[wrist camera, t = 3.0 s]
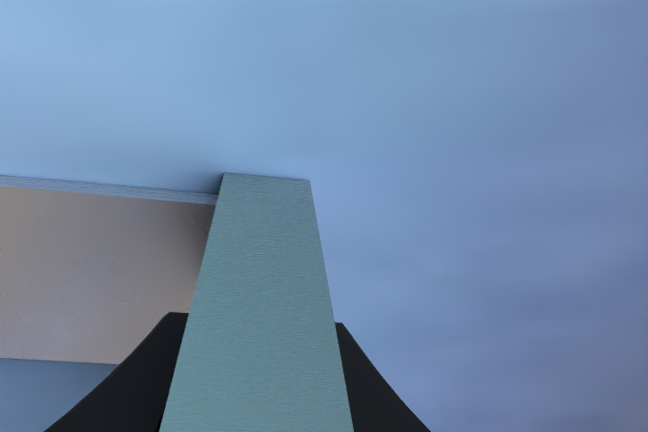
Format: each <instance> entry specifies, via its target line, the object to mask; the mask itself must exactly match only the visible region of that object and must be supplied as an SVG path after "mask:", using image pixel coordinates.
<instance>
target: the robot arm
mask: <svg viewBox="0 0 648 432" xmlns="http://www.w3.org/2000/svg"><path fill="white" fill-rule="evenodd" d="M188 315H189V313H180V312H169V313H168V314H166V315H165V316H164V317H162V319H161V320H160V321H159V322H158V324H157V325H156V326H155V327H154V328H153V329H152V331H151V332H150V333H149V334H148V335H147V336H146V337H145V339H144V340H143V341H142V342H141V343H140V344H139V345H138V346H137V347H136V348H135V349H134V350H133V352H132V353H131V354H130V355H129V356H128V357H127V358H126V359H125V360H124V361H123V362H122V363H121V364H120V365H119V366H118V367H117V368H116V369H115V370H114V371H113V372H112V373H111V374H110V375H109V376H108V377H107V378H106V379H105V380H104V381H102V382H101V383H100V384H99V385H98V386H97V387H96V388H95V389H94V390H92V391H91V392H90V393H89V394H88V395H87V396H86V397H85V398H83V399H82V400H81V401H80V402H79V403H78V404H77V405H76V406H74V407H73V408H72V409H71V410H70V411H69V412H68V413H66V414H65V415H64V416H63V417H61V418H60V419H59V420H58V421H56V422H55V423H54V424H53V425H52V426H50V427H49V428H48V429H46V430H45V431H44V432H159V431H160V427H161V423H162V419H163V415H164V411H165V407H166V403H167V399H168V395H169V391H170V387H171V383H172V379H173V375H174V371H175V367H176V363H177V359H178V355H179V351H180V347H181V343H182V339H183V335H184V331H185V327H186V323H187V319H188ZM335 327H336V333H337V339H338V344H339V350H340V356H341V361H342V367H343V373H344V379H345V384H346V390H347V396H348V401H349V407H350V413H351V418H352V424H353V430H354V432H431V431H430V430H429V429H428V428H427V427H426V426H425V425H424V424H423V423H422V422H421V421H420V420H419V419H418V418H417V417H416V415H415V414H414V413H413V412H412V411H411V410H410V409H409V408H408V407H407V406H406V405H405V403H404V402H403V401H402V400H401V399H400V398H399V396H398V395H397V394H396V393H395V392H394V390H393V389H392V388H391V387H390V386H389V384H388V383H387V382H386V381H385V379H384V378H383V377H382V376H381V374H380V373H379V372H378V371H377V369H376V368H375V367H374V365H373V364H372V363H371V361H370V360H369V359H368V357H367V356H366V355H365V353H364V352H363V351H362V349H361V348H360V347H359V345H358V344H357V342H356V341H355V340H354V338H353V337H352V335H351V334H350V333H349V331H348V330H347V329H346V327H345V326H344V325H343V324H342V323H336V322H335Z"/></svg>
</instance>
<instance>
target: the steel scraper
mask: <svg viewBox="0 0 648 432" xmlns="http://www.w3.org/2000/svg"><path fill="white" fill-rule="evenodd" d="M169 312H180V313H189V315H188V319H187V323H186V327H185V331H184V335H183V339H182V343H181V347H180V351H179V355H178V359H177V363H176V367H175V371H174V375H173V379H172V383H171V387H170V391H169V395H168V399H167V403H166V407H165V411H164V415H163V419H162V423H161V427H160V431H159V432H354V430H353V424H352V418H351V413H350V407H349V401H348V396H347V390H346V384H345V379H344V373H343V367H342V361H341V356H340V350H339V344H338V339H337V333H336V327H335V322H334V316H333V310H332V305H331V299H330V293H329V287H328V282H327V276H326V270H325V265H324V259H323V253H322V248H321V242H320V236H319V231H318V225H317V219H316V214H315V208H314V202H313V196H312V191H311V185H310V181H307V180H297V179H286V178H275V177H264V176H254V175H243V174H232V173H224V176H223V180H222V184H221V188H220V192H219V195H215V194H204V193H192V192H181V191H170V190H159V189H147V188H136V187H125V186H113V185H102V184H91V183H79V182H68V181H57V180H45V179H34V178H23V177H11V176H0V358H13V359H31V360H50V361H68V362H87V363H105V364H121V363H122V362H123V361H124V360H125V359H126V358H127V357H128V356H129V355H130V354H131V353H132V352H133V350H134V349H135V348H136V347H137V346H138V345H139V344H140V343H141V342H142V341H143V340H144V339H145V337H146V336H147V335H148V334H149V333H150V332H151V331H152V329H153V328H154V327H155V326H156V325H157V324H158V322H159V321H160V320H161V319H162V317H164V316H165V315H166V314H168V313H169Z"/></svg>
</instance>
